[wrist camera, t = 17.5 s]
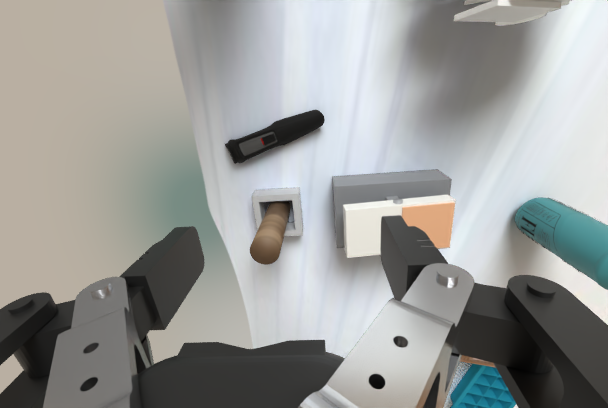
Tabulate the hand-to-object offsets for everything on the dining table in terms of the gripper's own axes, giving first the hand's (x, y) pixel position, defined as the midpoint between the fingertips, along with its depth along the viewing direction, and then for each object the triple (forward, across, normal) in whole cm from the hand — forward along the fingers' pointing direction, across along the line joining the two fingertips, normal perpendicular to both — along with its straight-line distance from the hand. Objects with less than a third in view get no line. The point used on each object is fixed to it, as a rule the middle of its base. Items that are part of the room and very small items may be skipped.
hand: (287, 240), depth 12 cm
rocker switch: (+24, -11, +12) cm, 29 cm away
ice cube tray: (+33, -34, +53) cm, 71 cm away
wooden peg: (+32, +6, +12) cm, 35 cm away
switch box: (+32, -11, +12) cm, 36 cm away
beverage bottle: (+32, -34, +15) cm, 49 cm away
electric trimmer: (+33, +6, 0) cm, 33 cm away
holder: (+32, +6, +12) cm, 35 cm away
